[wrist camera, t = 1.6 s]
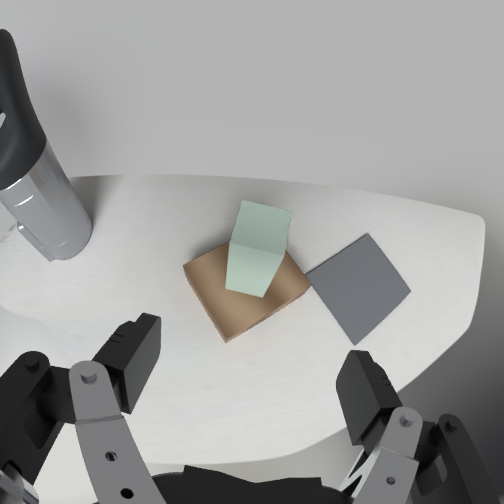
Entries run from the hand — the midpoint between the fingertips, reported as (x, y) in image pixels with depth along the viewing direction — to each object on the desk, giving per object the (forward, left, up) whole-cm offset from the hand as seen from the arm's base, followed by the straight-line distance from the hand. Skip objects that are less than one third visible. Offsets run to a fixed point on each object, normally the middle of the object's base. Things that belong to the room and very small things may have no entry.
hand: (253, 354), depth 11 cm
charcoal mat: (+22, -1, -23) cm, 32 cm away
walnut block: (+7, +8, -23) cm, 25 cm away
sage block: (+7, +8, -19) cm, 22 cm away
